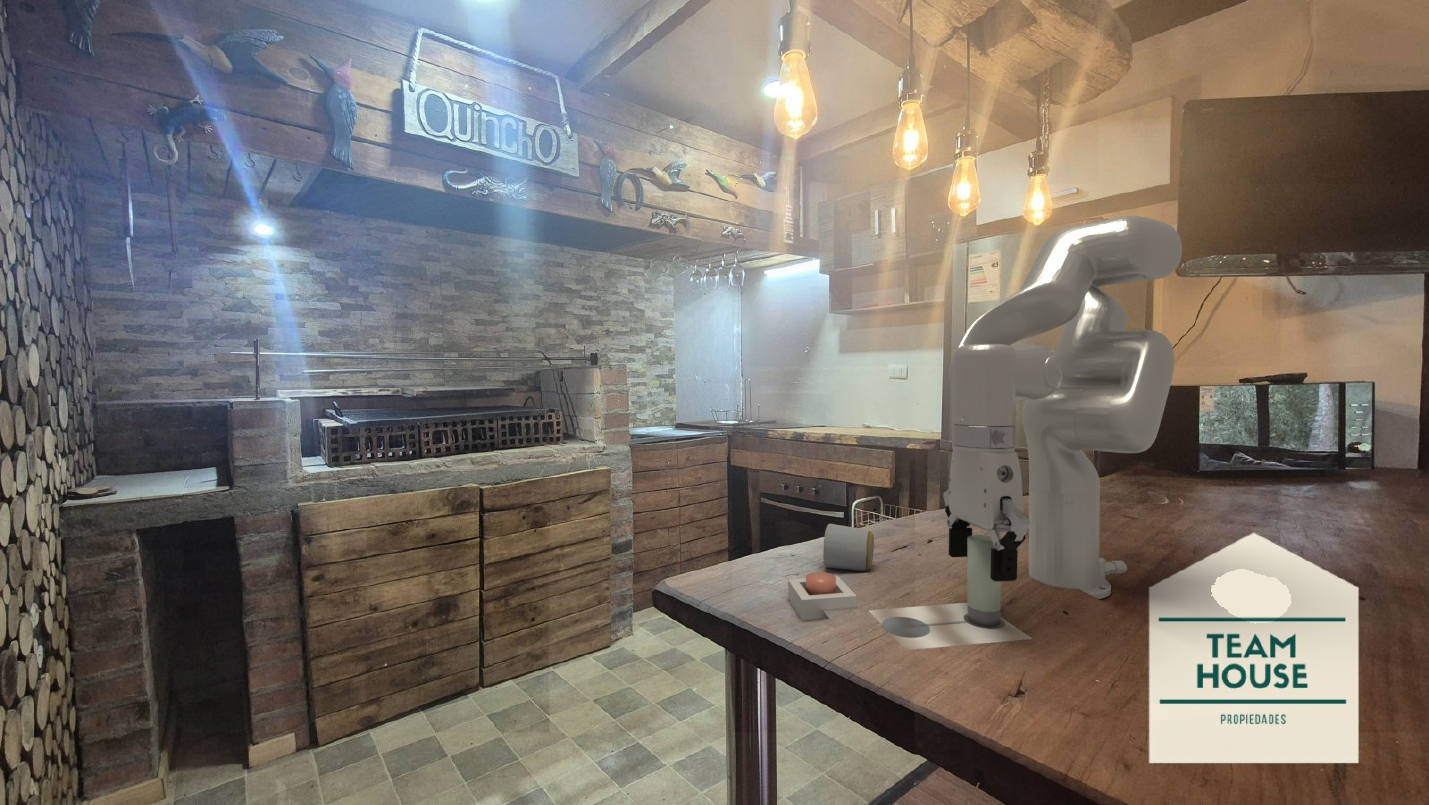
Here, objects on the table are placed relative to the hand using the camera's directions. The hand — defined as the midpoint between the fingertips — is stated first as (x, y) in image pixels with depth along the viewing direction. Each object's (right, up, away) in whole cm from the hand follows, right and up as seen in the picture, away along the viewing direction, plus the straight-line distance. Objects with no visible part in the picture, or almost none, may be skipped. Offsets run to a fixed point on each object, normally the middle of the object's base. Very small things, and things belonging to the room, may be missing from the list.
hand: (980, 567), depth 75 cm
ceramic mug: (-11, -8, +27) cm, 30 cm away
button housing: (-19, -9, +10) cm, 23 cm away
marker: (+1, -7, +1) cm, 7 cm away
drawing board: (-5, -9, 0) cm, 10 cm away
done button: (-19, -6, +10) cm, 22 cm away
